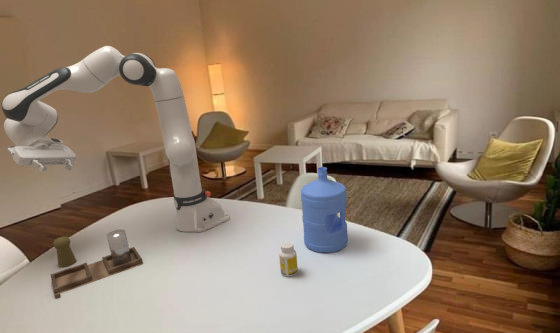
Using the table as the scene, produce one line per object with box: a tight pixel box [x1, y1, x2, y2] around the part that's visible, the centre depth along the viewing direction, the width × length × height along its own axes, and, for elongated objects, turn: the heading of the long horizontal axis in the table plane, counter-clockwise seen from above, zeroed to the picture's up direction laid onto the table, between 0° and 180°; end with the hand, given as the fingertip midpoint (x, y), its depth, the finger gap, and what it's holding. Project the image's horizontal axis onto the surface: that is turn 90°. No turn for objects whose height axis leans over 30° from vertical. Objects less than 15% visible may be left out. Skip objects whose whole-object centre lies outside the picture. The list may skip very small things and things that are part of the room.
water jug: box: [300, 166, 349, 253], centre depth 135 cm, size 16×16×28 cm
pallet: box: [50, 246, 144, 299], centre depth 131 cm, size 27×13×3 cm, turn 123°
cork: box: [52, 236, 77, 269], centre depth 136 cm, size 6×6×11 cm
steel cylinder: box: [106, 228, 132, 266], centre depth 134 cm, size 6×6×11 cm
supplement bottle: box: [278, 241, 299, 277], centre depth 121 cm, size 5×5×10 cm
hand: (57, 169), depth 133 cm, fingers open, 8 cm apart
